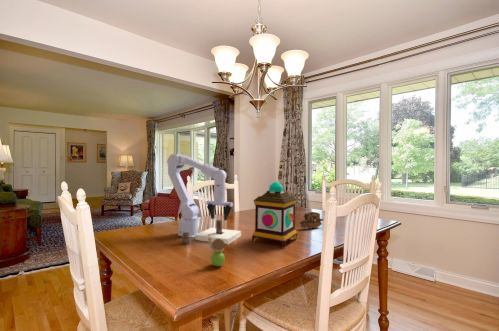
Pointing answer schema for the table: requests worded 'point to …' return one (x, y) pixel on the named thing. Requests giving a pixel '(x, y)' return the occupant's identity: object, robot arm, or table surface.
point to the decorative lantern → (275, 215)
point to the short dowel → (185, 238)
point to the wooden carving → (311, 220)
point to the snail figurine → (217, 251)
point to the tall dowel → (218, 226)
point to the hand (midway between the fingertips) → (219, 219)
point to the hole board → (219, 235)
